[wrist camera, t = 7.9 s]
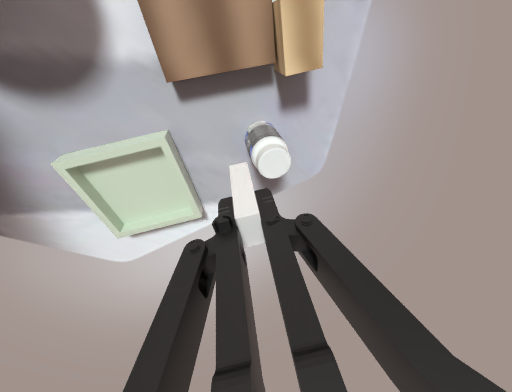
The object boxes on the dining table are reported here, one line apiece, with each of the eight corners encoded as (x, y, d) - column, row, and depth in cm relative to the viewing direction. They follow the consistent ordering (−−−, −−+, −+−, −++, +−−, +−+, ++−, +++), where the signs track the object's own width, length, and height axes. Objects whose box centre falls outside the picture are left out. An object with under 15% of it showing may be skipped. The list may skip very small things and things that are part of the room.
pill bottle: (238, 132, 30) (246, 159, 23) (267, 113, 29) (284, 136, 22) (254, 157, 33) (266, 188, 26) (281, 141, 32) (300, 168, 25)
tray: (122, 227, 36) (117, 238, 34) (62, 154, 27) (50, 164, 25) (202, 207, 37) (202, 217, 34) (167, 129, 28) (164, 137, 26)
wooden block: (274, 70, 26) (285, 76, 22) (267, 5, 22) (280, -2, 18) (305, 62, 26) (322, 67, 22) (304, -3, 22) (324, -11, 18)
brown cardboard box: (170, 78, 25) (166, 82, 22) (143, -3, 20) (134, -8, 18) (269, 60, 25) (275, 62, 23) (263, -22, 21) (269, -29, 19)
